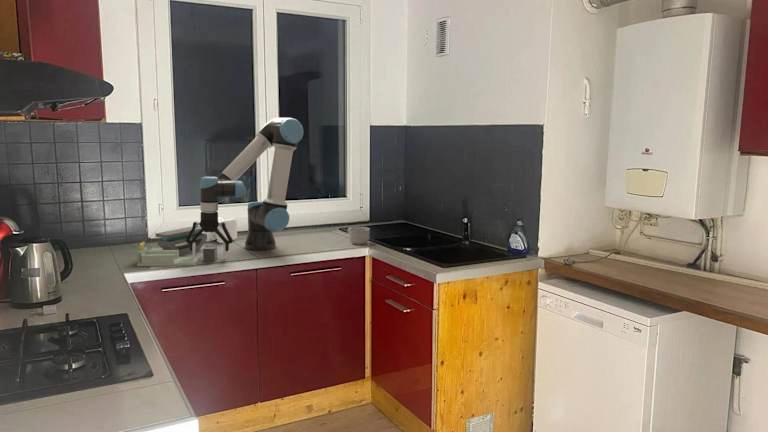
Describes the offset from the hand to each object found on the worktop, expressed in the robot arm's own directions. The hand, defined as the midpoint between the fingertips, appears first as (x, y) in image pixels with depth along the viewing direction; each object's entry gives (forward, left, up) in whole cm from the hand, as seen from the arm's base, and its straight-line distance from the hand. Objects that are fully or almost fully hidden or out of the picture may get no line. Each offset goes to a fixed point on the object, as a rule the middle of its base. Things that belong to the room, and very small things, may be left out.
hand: (209, 258), depth 270 cm
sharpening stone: (+15, -16, -1) cm, 22 cm away
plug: (0, 0, -1) cm, 1 cm away
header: (+17, +4, -1) cm, 17 cm away
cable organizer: (+2, -43, -1) cm, 43 cm away
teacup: (-70, -35, -1) cm, 78 cm away
